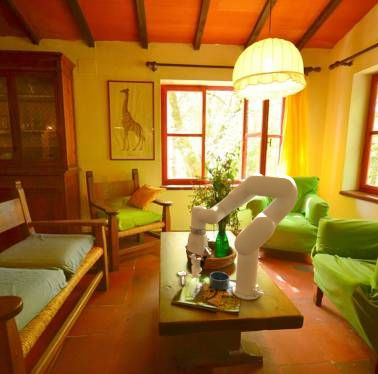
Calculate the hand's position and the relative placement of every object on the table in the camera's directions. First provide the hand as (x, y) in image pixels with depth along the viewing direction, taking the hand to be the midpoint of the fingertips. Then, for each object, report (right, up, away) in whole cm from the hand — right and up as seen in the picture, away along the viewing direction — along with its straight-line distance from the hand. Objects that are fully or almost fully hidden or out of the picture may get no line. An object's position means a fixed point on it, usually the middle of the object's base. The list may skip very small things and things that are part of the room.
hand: (197, 264), depth 129 cm
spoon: (-7, -8, +3) cm, 12 cm away
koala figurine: (-1, -7, +1) cm, 7 cm away
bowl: (+11, -10, -3) cm, 15 cm away
